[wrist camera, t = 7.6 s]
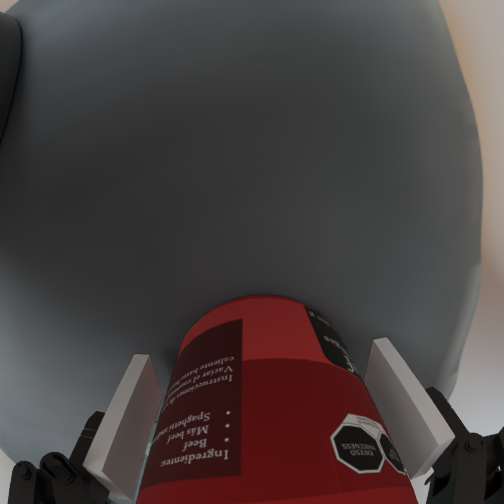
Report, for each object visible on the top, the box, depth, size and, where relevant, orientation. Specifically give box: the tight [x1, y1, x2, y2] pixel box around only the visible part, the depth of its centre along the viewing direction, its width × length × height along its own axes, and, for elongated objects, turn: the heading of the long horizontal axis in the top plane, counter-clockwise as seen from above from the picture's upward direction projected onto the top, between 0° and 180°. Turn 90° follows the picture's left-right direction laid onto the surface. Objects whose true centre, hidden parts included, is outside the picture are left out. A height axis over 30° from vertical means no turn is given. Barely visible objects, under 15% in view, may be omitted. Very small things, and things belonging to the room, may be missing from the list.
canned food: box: [136, 295, 418, 504], centre depth 8 cm, size 8×8×11 cm
